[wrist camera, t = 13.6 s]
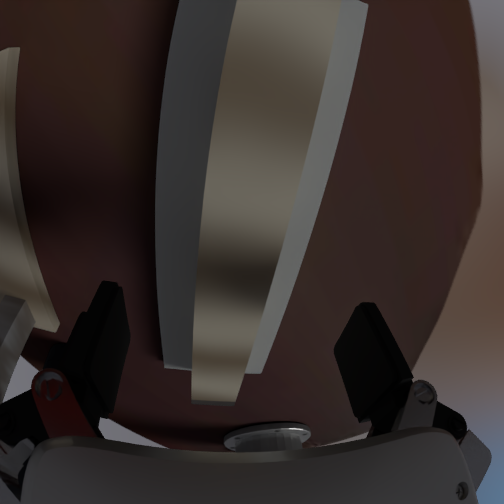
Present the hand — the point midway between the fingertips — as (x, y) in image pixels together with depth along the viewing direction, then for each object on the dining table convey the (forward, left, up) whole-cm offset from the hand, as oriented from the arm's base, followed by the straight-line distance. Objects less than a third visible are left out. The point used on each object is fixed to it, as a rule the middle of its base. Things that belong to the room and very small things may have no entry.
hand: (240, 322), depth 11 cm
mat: (+1, 0, -6) cm, 6 cm away
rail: (+1, 0, -5) cm, 5 cm away
